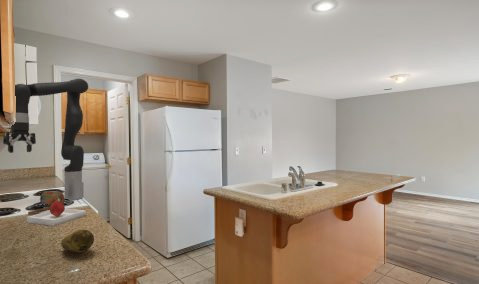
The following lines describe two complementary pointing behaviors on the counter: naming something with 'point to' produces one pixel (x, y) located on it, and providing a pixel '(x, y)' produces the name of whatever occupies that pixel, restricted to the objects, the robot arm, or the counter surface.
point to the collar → (38, 211)
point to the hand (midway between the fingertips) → (20, 152)
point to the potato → (78, 241)
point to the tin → (51, 197)
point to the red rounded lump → (57, 208)
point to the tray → (52, 220)
